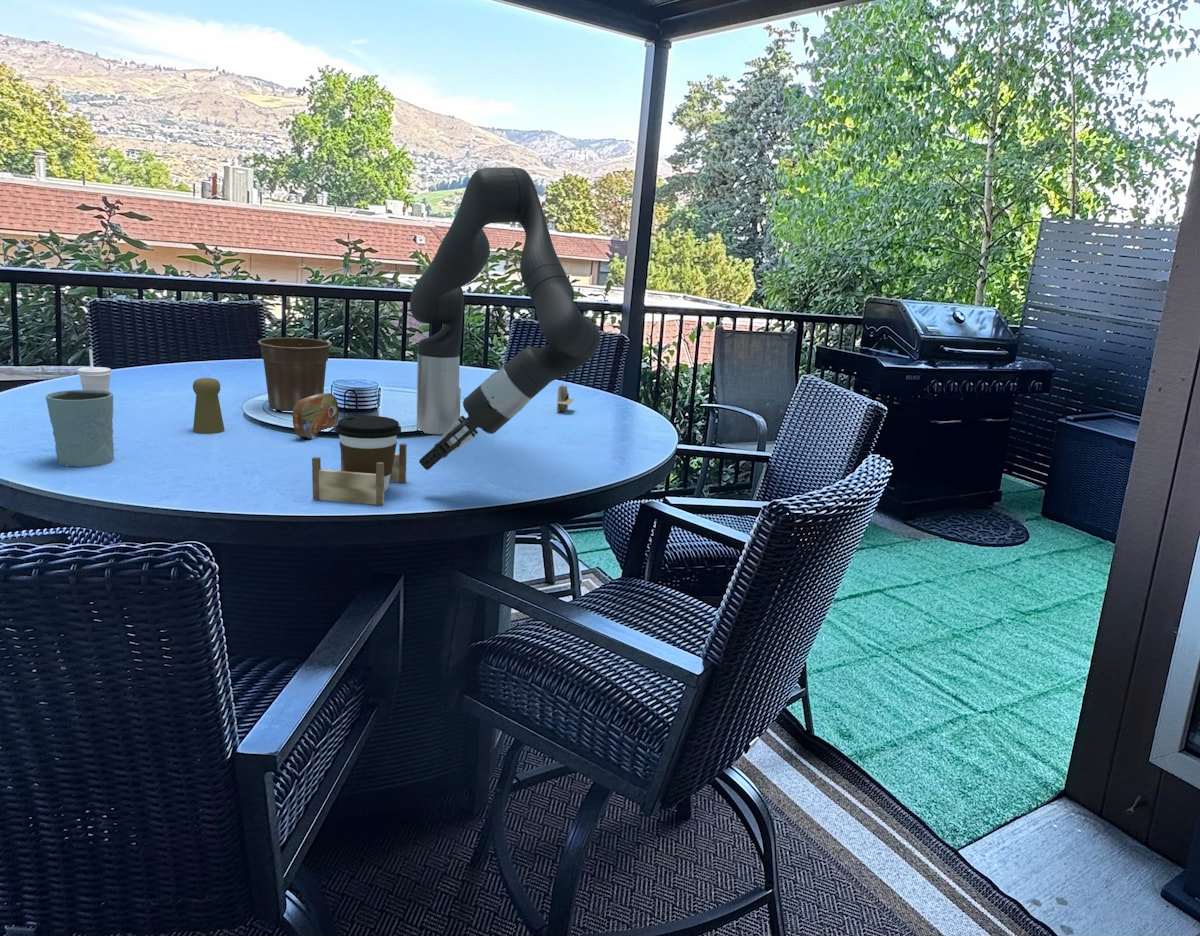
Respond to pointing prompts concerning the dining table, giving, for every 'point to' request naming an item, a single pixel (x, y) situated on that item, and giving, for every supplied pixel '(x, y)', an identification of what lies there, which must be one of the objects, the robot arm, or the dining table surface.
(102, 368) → the smoothie
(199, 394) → the cork
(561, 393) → the architectural model
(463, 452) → the dining table surface
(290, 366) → the plant pot
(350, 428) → the coffee cup
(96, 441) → the green embossed planter
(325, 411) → the tin
